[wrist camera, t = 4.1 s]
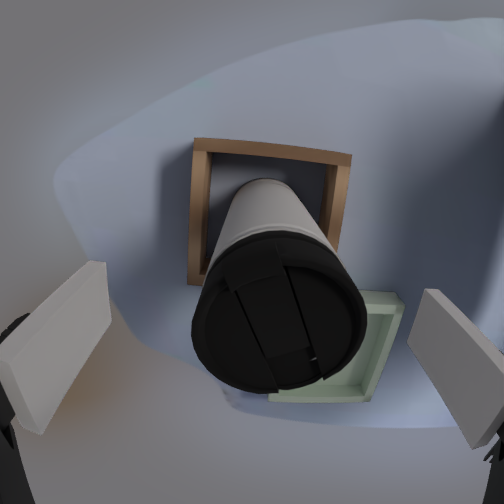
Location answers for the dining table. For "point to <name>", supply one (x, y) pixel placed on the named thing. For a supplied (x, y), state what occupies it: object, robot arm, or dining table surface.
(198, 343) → the travel mug
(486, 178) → the dining table surface
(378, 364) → the tray
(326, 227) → the holder
